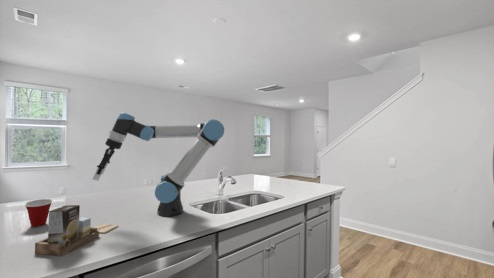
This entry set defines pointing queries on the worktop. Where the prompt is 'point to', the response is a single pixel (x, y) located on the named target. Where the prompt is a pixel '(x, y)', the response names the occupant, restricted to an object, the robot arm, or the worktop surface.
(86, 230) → the offcut block middle
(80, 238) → the offcut block bottom
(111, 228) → the cork trivet
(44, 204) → the plastic cup
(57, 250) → the walnut rack
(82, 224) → the offcut block top
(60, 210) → the coffee box
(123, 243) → the worktop surface
